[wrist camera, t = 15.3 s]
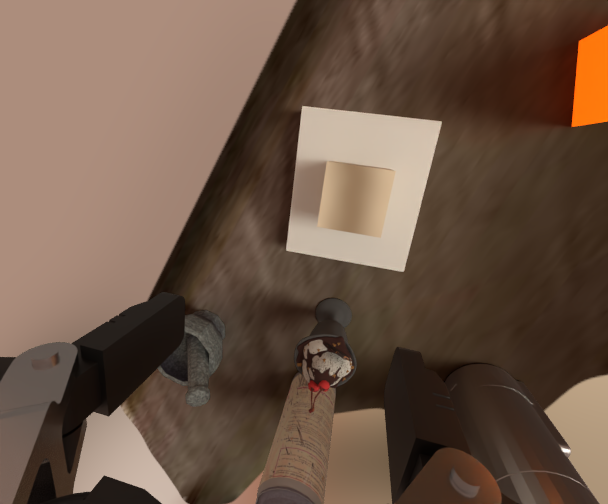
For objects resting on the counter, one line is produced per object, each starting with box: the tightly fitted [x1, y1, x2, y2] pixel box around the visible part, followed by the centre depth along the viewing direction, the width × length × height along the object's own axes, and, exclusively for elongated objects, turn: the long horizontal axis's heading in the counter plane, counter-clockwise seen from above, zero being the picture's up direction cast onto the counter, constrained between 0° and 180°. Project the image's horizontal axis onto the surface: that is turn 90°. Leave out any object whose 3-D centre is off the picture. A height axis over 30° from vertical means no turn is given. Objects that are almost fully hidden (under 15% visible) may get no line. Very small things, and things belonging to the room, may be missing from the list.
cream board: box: [286, 106, 442, 272], centre depth 34 cm, size 14×16×3 cm
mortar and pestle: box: [158, 310, 225, 406], centre depth 40 cm, size 11×9×12 cm
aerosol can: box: [256, 372, 336, 504], centre depth 35 cm, size 7×7×20 cm
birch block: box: [317, 161, 396, 238], centre depth 29 cm, size 6×6×6 cm
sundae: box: [294, 298, 357, 413], centre depth 33 cm, size 7×7×15 cm
